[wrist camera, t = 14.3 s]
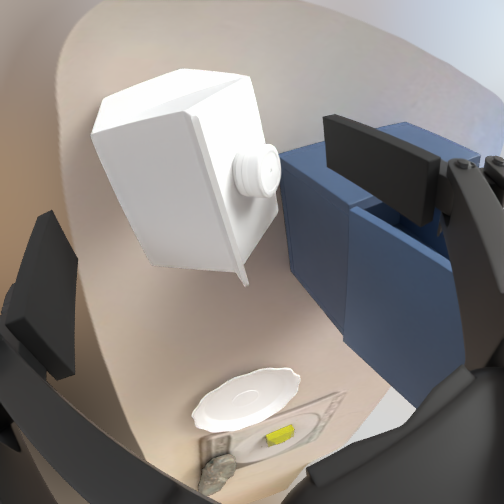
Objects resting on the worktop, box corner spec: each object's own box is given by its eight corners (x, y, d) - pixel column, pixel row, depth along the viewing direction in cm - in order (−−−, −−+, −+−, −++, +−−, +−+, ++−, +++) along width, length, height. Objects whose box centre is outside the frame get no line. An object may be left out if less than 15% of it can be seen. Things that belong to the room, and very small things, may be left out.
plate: (290, 404, 65) (293, 409, 64) (198, 435, 58) (200, 442, 57) (302, 346, 53) (307, 353, 52) (181, 384, 46) (184, 393, 45)
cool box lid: (590, 366, 8) (520, 507, 6) (482, 458, 18) (414, 530, 15) (356, 205, 22) (253, 260, 20) (348, 336, 32) (280, 384, 30)
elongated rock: (190, 489, 83) (217, 481, 88) (196, 502, 79) (224, 494, 84) (201, 458, 65) (239, 447, 69) (210, 476, 61) (248, 464, 66)
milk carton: (130, 170, 27) (167, 323, 12) (102, 98, 22) (79, 163, 8) (203, 140, 28) (322, 251, 14) (182, 67, 24) (300, 83, 9)
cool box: (405, 121, 36) (481, 154, 27) (398, 222, 46) (455, 266, 37) (275, 154, 32) (349, 204, 23) (290, 271, 42) (343, 336, 33)
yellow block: (297, 419, 72) (302, 428, 70) (295, 432, 78) (299, 440, 76) (259, 435, 69) (264, 444, 67) (261, 446, 75) (265, 455, 73)
